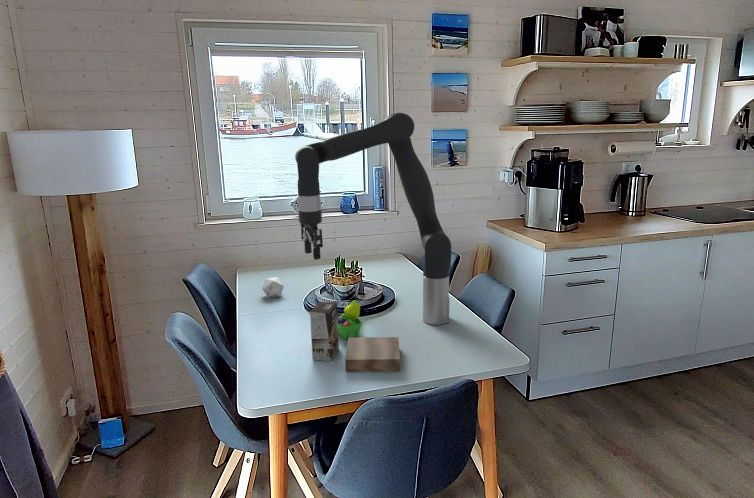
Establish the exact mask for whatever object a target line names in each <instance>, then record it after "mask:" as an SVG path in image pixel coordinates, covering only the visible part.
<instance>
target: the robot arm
mask: <svg viewBox="0 0 754 498" xmlns="http://www.w3.org/2000/svg"><path fill="white" fill-rule="evenodd" d="M414 131H415V121H414V119H413V118H412V117H411V116H410V115H409V114H406V113H404V112H396V113H391V114H389V115H387V116H386V117H385V118H384V120H383V121H381V122H379V123H377V124H374V125H371V126H369V127H366V128H362V129H357V130H353V131H348V132H346V133H342V134H339V135H336V136H332V137H330V138H327V139H325V140H323V141H318V142H313V143H310V144H307V145H303V146H300V147H299V148H298V149H297V150H296V152H295V156H294V158H295V162H296V165H297V166H296V167H297V175H298V176H297V177H298V179H297V195H298V196H297V198H298V199H297V209H298V222H299V225H300V236H301V237H300V238H301V240H302V242H303V245H304V253H305V254H307V255H308V254H312V255H313V260H316V261H317V260H320V259H321V248H323V247H324V244H323V231H322V230H323V229H322V228H319V227H318V224H321V223H322V222H323V214H322V200H321V192H320V191H321V189H320V179H319V178H320V176H319V175H320V164H323V163H325V162H329V161H331V162H332V161H336V160H339V159H342V158H345V157H348V156H351V155H353V154H356V153H359V152H361V151H364V150H367V149H370V148H373V147H376V146H381V145H384V144H388V146H389V148H390V151H391V154H392V156H393V159H394V162H395V165H396V168H397V172H398V176H399V179H400V182H401V183H400V184H401V187H402V188H403V192H404V195H405V198H406V200H407V202H408V205H409V207H410V209H411V212H412V213H413V215H414V219H415V221H416V223H417V227H418V231H419V235H420V236H419V237H420V240H421V245H422V248H423V250H424V264H423V265H424V266H423V269H422V321H423V322H424V323H426V324H429V325H435V326H436V325H437V326H438V325H444V324H449V323H450V303H451V302H450V269H451V267H452V241H451V239H450V237H448V236H447V235H446V233H445V231H444V230H443V228H442V225H441V223H440V221H439V218H438V216H437V211H436V206H435V197H434V192H433V188H432V185H431V182H430V179H429V176H428V174H427V171H426V169H425V167H424V165H423V164H422V162H421V161H420V159H419V157H418V155H417V153H416V152H415V150H414V146H413V143H412V139H411V137H412V136H413V134H414Z"/></svg>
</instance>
